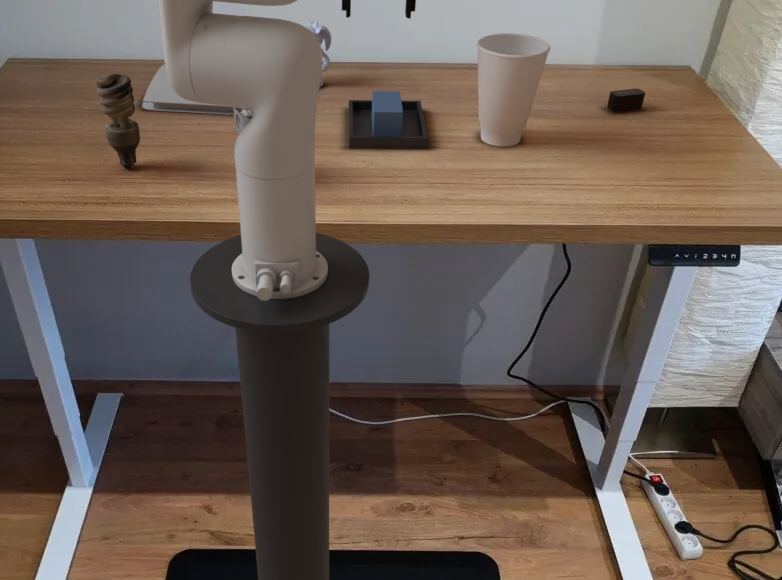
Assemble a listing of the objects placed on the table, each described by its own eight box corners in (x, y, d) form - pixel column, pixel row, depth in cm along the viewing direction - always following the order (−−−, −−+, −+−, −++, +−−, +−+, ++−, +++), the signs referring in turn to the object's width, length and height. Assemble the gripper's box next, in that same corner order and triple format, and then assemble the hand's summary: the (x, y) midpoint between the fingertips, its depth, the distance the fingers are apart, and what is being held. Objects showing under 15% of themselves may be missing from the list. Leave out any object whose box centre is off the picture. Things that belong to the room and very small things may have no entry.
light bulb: (103, 170, 131) (85, 76, 121) (124, 157, 134) (108, 65, 125) (131, 177, 129) (116, 82, 119) (152, 163, 133) (138, 71, 123)
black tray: (427, 148, 138) (427, 138, 137) (349, 148, 138) (349, 137, 137) (419, 110, 151) (420, 100, 150) (348, 109, 151) (348, 99, 150)
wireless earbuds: (646, 110, 152) (650, 92, 150) (613, 113, 150) (617, 96, 148) (632, 101, 155) (636, 84, 153) (599, 105, 154) (603, 88, 152)
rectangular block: (401, 137, 140) (403, 112, 138) (373, 137, 140) (374, 111, 138) (398, 115, 148) (400, 91, 145) (371, 115, 148) (372, 90, 145)
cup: (487, 156, 135) (500, 59, 125) (454, 130, 144) (464, 37, 134) (547, 146, 139) (565, 50, 129) (511, 121, 147) (525, 30, 137)
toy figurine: (289, 83, 162) (287, 20, 154) (314, 76, 165) (313, 14, 157) (309, 92, 158) (308, 28, 150) (335, 86, 161) (335, 22, 153)
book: (161, 81, 162) (159, 61, 160) (273, 87, 160) (272, 67, 158) (137, 109, 151) (134, 88, 148) (258, 116, 148) (256, 95, 146)
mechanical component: (256, 191, 125) (252, 129, 119) (235, 165, 132) (230, 105, 126) (274, 187, 126) (271, 125, 120) (252, 162, 133) (248, 102, 127)
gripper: (323, -105, 115) (323, 21, 126) (444, -103, 115) (433, 23, 126) (324, -113, 121) (324, 8, 132) (439, -111, 121) (429, 10, 132)
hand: (378, 15), depth 129 cm, fingers open, 9 cm apart
